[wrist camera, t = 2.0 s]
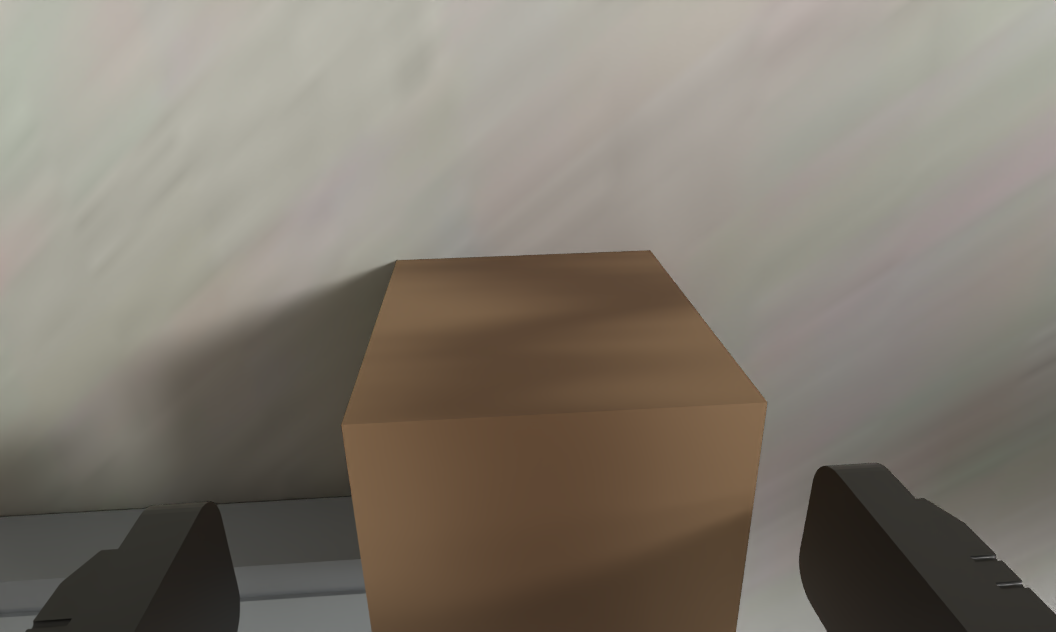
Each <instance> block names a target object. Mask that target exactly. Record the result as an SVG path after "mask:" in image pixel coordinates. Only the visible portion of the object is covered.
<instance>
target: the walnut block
mask: <svg viewBox="0 0 1056 632" xmlns="http://www.w3.org/2000/svg"><path fill="white" fill-rule="evenodd" d="M766 408H767V401H766V400H765V399H764V397H763V396H762V395H761V394H760V392H759V391H758V390H757V388H756V387H755V386H754V384H753V383H752V382H751V381H750V379H749V378H748V377H747V375H746V374H745V373H744V372H743V370H742V369H741V368H740V366H739V365H738V364H737V362H736V361H735V360H734V359H733V357H732V356H731V355H730V353H729V352H728V351H727V349H726V348H725V347H724V346H723V344H722V343H721V342H720V340H719V339H718V338H717V336H716V335H715V334H714V333H713V331H712V330H711V329H710V327H709V326H708V325H707V324H706V322H705V321H704V320H703V318H702V317H701V316H700V314H699V313H698V312H697V311H696V309H695V308H694V307H693V305H692V304H691V303H690V301H689V300H688V299H687V298H686V296H685V295H684V294H683V292H682V291H681V290H680V288H679V287H678V286H677V285H676V283H675V282H674V281H673V279H672V278H671V277H670V276H669V274H668V273H667V272H666V270H665V269H664V268H663V266H662V265H661V264H660V263H659V261H658V260H657V259H656V257H655V256H654V255H653V253H652V252H651V251H650V250H649V251H623V252H598V253H572V254H546V255H521V256H495V257H470V258H444V259H418V260H397V261H396V264H395V267H394V270H393V273H392V276H391V279H390V281H389V284H388V287H387V290H386V293H385V296H384V299H383V302H382V305H381V308H380V311H379V314H378V317H377V320H376V323H375V326H374V329H373V332H372V335H371V338H370V341H369V344H368V347H367V350H366V353H365V356H364V359H363V362H362V365H361V367H360V370H359V373H358V376H357V379H356V382H355V385H354V388H353V391H352V394H351V397H350V400H349V403H348V406H347V409H346V412H345V415H344V418H343V421H342V424H341V428H342V434H343V441H344V448H345V455H346V462H347V468H348V475H349V482H350V489H351V495H352V502H353V509H354V516H355V522H356V529H357V536H358V543H359V549H360V556H361V563H362V570H363V576H364V583H365V590H366V597H367V603H368V610H369V617H370V624H371V631H372V632H736V626H737V619H738V612H739V605H740V597H741V590H742V583H743V576H744V568H745V561H746V554H747V546H748V539H749V532H750V525H751V517H752V510H753V503H754V496H755V488H756V481H757V474H758V466H759V459H760V452H761V445H762V437H763V430H764V423H765V416H766Z"/></svg>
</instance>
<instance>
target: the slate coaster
mask: <svg viewBox="0 0 1056 632" xmlns="http://www.w3.org/2000/svg"><path fill="white" fill-rule="evenodd" d="M216 505H217V506H218V508H219V510H220V513H221V516H222V521H223V525H224V529H225V533H226V538H227V542H228V546H229V550H230V555H231V559H232V563H233V567H234V572H235V576H236V580H237V584H238V589H239V595H240V618H239V626H238V631H237V632H372V631H371V624H370V617H369V610H368V603H367V597H366V590H365V583H364V576H363V570H362V563H361V556H360V549H359V543H358V536H357V529H356V522H355V516H354V509H353V502H352V496H351V497H334V498H317V499H300V500H283V501H266V502H249V503H232V504H216ZM144 510H145V509H129V510H112V511H95V512H78V513H61V514H44V515H27V516H10V517H0V632H25V631H26V630H27V629H32V627H33V620H34V619H35V618H36V616H37V615H38V614H39V612H40V611H41V609H42V608H43V607H44V605H45V604H46V602H47V601H48V600H49V598H50V597H51V596H52V594H53V593H54V591H55V590H56V589H57V587H58V586H59V584H60V583H61V582H62V581H64V580H65V579H66V578H67V577H69V576H70V575H71V574H72V573H73V572H75V571H76V570H77V569H78V568H80V567H81V566H82V565H83V564H85V563H86V562H87V561H88V560H90V559H91V558H92V557H93V556H94V555H96V554H97V553H98V552H99V551H101V550H110V549H118V548H119V547H120V545H121V544H122V542H123V541H124V539H125V538H126V536H127V535H128V533H129V532H130V530H131V528H132V527H133V525H134V524H135V522H136V521H137V519H138V518H139V516H140V515H141V514H142V512H143V511H144Z"/></svg>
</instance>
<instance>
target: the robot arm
mask: <svg viewBox="0 0 1056 632" xmlns="http://www.w3.org/2000/svg"><path fill="white" fill-rule="evenodd" d="M799 567H800V574H801V579H802V583H803V587H804V590H805V593H806V595H807V597H808V599H809V601H810V603H811V605H812V607H813V608H814V610H815V612H816V613H817V615H818V617H819V618H820V620H821V622H822V624H823V625H824V627H825V629H826V630H827V632H1056V614H1055V613H1054V612H1053V611H1052V610H1051V609H1050V608H1049V607H1048V606H1047V605H1046V604H1045V603H1044V602H1043V601H1042V600H1041V599H1040V598H1039V597H1038V596H1037V595H1036V594H1035V593H1034V592H1033V591H1032V590H1031V589H1030V588H1024V587H1023V585H1022V580H1021V579H1020V578H1019V577H1018V576H1017V575H1016V574H1015V573H1014V572H1013V571H1012V570H1011V569H1010V568H1009V567H1008V566H1007V565H1006V564H1005V563H1004V562H1003V561H997V559H996V554H995V553H994V552H993V551H992V550H991V549H990V548H989V547H988V546H987V545H986V544H985V543H984V542H983V541H982V540H981V539H980V538H979V537H978V536H977V535H976V534H975V533H974V532H973V531H972V530H971V529H970V528H969V527H968V526H967V525H966V524H965V523H963V522H962V521H960V520H959V519H957V518H955V517H954V516H952V515H950V514H949V513H947V512H946V511H944V510H942V509H941V508H939V507H937V506H936V505H934V504H933V503H931V502H929V501H928V500H926V499H924V498H921V499H915V497H914V496H913V495H912V494H911V493H910V492H909V491H908V490H907V489H906V488H905V487H904V486H903V485H902V484H901V483H900V482H899V481H898V479H897V478H896V477H895V476H894V475H893V474H892V473H891V472H890V471H889V470H888V469H887V468H886V467H885V466H883V465H881V464H878V463H865V464H849V465H832V466H822V467H820V468H819V469H818V470H817V472H816V474H815V476H814V479H813V484H812V489H811V494H810V500H809V505H808V510H807V516H806V521H805V526H804V532H803V537H802V542H801V548H800V554H799ZM239 618H240V595H239V589H238V584H237V580H236V576H235V572H234V567H233V563H232V559H231V555H230V550H229V546H228V542H227V538H226V533H225V529H224V525H223V521H222V516H221V513H220V510H219V508H218V506H217V505H216V504H215V503H214V502H197V503H181V504H164V505H152V506H149V507H147V508H146V509H145V510H144V511H143V512H142V514H141V515H140V516H139V518H138V519H137V521H136V522H135V524H134V525H133V527H132V528H131V530H130V532H129V533H128V535H127V536H126V538H125V539H124V541H123V542H122V544H121V545H120V547H119V548H118V549H110V550H101V551H99V552H98V553H97V554H96V555H94V556H93V557H92V558H91V559H90V560H88V561H87V562H86V563H85V564H83V565H82V566H81V567H80V568H78V569H77V570H76V571H75V572H73V573H72V574H71V575H70V576H69V577H67V578H66V579H65V580H64V581H62V582H61V583H60V584H59V586H58V587H57V589H56V590H55V591H54V593H53V594H52V596H51V597H50V598H49V600H48V601H47V602H46V604H45V605H44V607H43V608H42V609H41V611H40V612H39V614H38V615H37V616H36V618H35V619H34V620H33V627H32V629H27V630H26V631H25V632H237V631H238V626H239Z"/></svg>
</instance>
